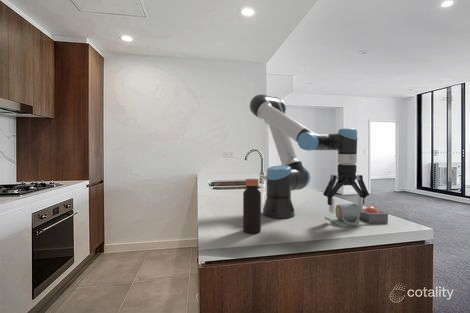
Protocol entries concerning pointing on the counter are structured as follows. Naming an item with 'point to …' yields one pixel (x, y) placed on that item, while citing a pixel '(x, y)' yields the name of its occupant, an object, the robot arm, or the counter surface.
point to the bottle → (252, 207)
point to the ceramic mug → (348, 213)
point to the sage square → (342, 223)
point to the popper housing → (374, 217)
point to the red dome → (371, 210)
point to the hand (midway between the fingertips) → (345, 212)
